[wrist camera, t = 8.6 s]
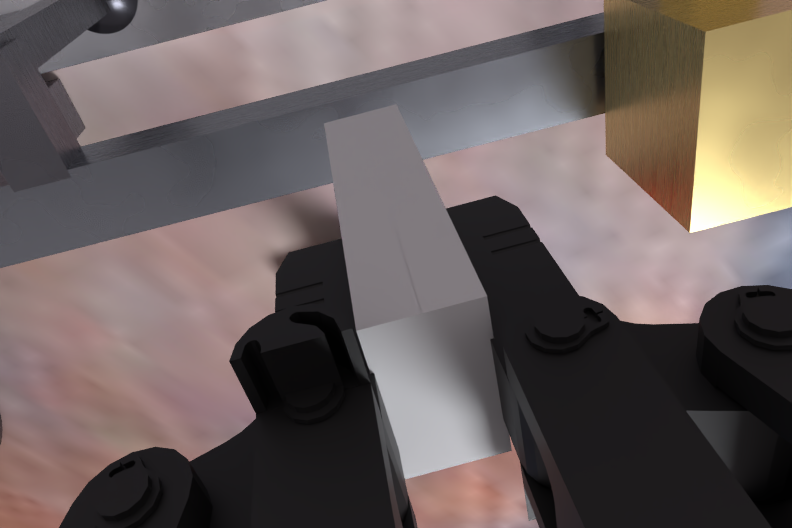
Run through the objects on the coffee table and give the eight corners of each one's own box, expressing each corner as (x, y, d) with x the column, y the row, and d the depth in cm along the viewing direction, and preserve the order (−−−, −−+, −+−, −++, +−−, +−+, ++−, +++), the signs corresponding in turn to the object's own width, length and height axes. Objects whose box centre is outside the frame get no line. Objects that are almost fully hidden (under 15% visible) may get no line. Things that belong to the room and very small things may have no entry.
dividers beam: (36, 140, 24) (-111, 296, 15) (-41, 9, 21) (-275, 109, 12) (722, -37, 24) (966, 20, 15) (736, -191, 21) (1045, -231, 12)
